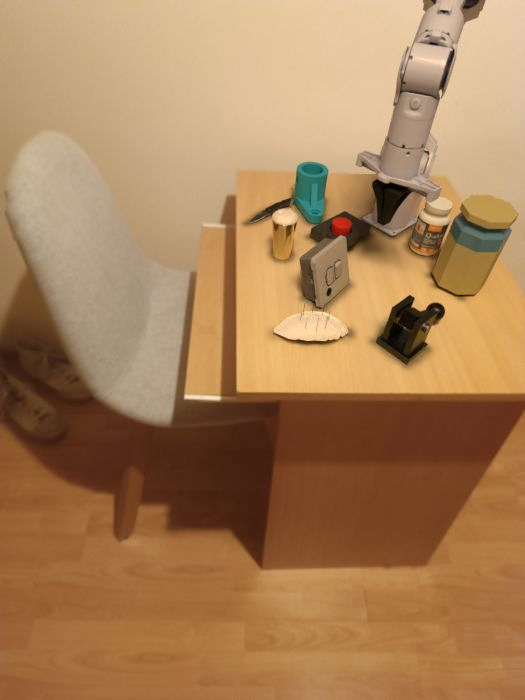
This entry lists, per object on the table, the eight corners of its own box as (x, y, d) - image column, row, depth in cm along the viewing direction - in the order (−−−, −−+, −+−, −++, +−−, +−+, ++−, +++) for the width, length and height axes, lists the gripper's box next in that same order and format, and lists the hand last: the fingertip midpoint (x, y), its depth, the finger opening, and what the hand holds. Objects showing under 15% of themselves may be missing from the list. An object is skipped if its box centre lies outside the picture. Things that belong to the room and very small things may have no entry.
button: (339, 223, 89) (341, 215, 88) (353, 231, 87) (355, 223, 86) (326, 229, 87) (328, 221, 86) (341, 238, 86) (343, 230, 84)
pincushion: (274, 348, 72) (277, 321, 67) (272, 320, 76) (274, 293, 71) (351, 347, 72) (358, 321, 68) (344, 319, 76) (351, 293, 72)
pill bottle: (421, 260, 88) (438, 213, 81) (402, 243, 92) (417, 198, 84) (444, 252, 90) (462, 207, 83) (424, 237, 94) (440, 191, 86)
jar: (482, 304, 81) (521, 229, 70) (428, 291, 82) (459, 216, 71) (482, 273, 87) (519, 200, 76) (432, 261, 88) (461, 188, 77)
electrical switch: (320, 311, 78) (324, 264, 71) (295, 299, 80) (296, 253, 74) (349, 284, 83) (355, 238, 76) (325, 274, 85) (328, 228, 79)
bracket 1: (320, 192, 103) (325, 161, 98) (331, 223, 95) (337, 191, 90) (291, 193, 102) (294, 161, 97) (299, 223, 95) (303, 191, 89)
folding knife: (250, 224, 93) (243, 219, 94) (250, 228, 94) (243, 224, 95) (296, 199, 99) (289, 195, 100) (295, 203, 100) (289, 199, 101)
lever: (426, 313, 78) (435, 298, 76) (441, 323, 76) (451, 307, 75) (394, 322, 69) (404, 305, 68) (410, 333, 68) (421, 316, 66)
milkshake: (298, 249, 89) (304, 202, 81) (287, 265, 85) (293, 217, 78) (277, 243, 90) (280, 195, 83) (265, 258, 87) (268, 210, 79)
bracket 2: (394, 328, 76) (408, 291, 70) (425, 349, 73) (442, 313, 67) (375, 342, 73) (387, 306, 68) (406, 364, 70) (422, 328, 65)
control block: (343, 220, 97) (346, 202, 94) (376, 239, 92) (380, 221, 89) (305, 239, 91) (307, 221, 88) (338, 261, 87) (342, 243, 84)
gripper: (350, 130, 69) (335, 211, 79) (432, 167, 62) (405, 251, 72) (379, 118, 72) (361, 198, 83) (461, 153, 66) (430, 235, 76)
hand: (383, 222), depth 78 cm, fingers closed
